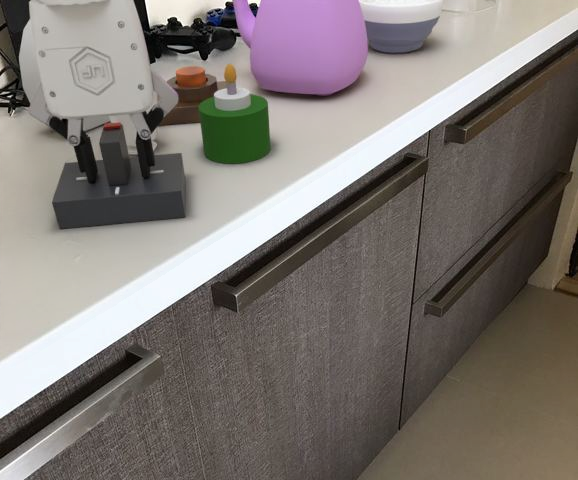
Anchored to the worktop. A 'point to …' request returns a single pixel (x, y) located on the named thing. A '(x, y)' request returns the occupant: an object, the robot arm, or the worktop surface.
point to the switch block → (190, 100)
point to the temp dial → (115, 154)
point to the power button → (190, 76)
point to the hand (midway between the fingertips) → (119, 173)
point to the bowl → (399, 23)
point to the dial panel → (121, 194)
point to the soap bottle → (33, 79)
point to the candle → (234, 124)
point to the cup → (133, 129)
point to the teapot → (304, 44)
